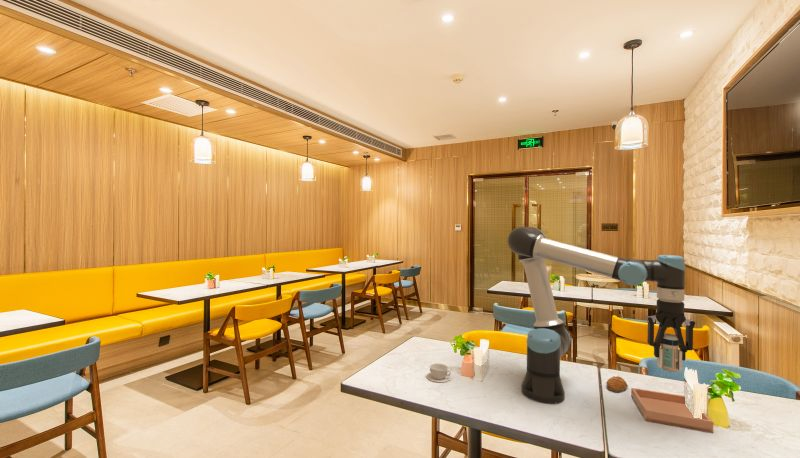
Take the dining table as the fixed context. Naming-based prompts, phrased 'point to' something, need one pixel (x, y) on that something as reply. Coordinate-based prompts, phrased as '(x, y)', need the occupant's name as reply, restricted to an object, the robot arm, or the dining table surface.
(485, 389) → the dining table surface
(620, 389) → the pastry
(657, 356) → the robot arm
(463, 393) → the dining table surface
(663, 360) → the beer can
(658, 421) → the terracotta dish
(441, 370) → the teacup
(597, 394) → the dining table surface
